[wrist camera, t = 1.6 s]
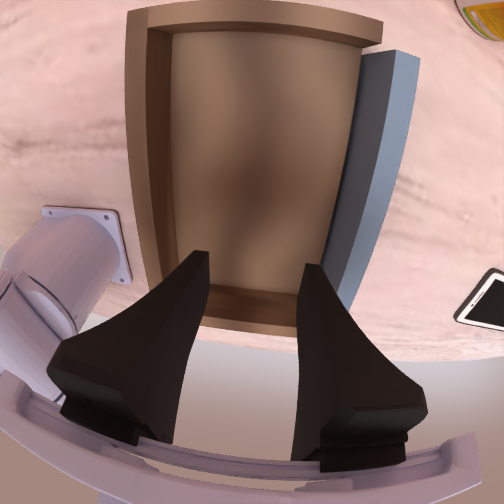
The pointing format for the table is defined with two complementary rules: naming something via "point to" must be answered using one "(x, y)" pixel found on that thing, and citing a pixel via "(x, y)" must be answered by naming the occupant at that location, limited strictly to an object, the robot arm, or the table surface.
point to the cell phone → (485, 303)
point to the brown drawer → (240, 144)
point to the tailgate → (369, 166)
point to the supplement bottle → (484, 17)
